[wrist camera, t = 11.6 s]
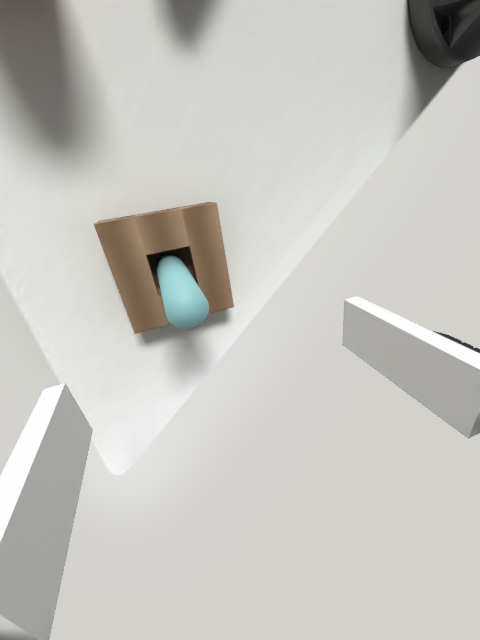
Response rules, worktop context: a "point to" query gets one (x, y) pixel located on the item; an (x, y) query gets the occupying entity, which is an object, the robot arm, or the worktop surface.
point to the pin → (180, 293)
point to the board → (155, 239)
